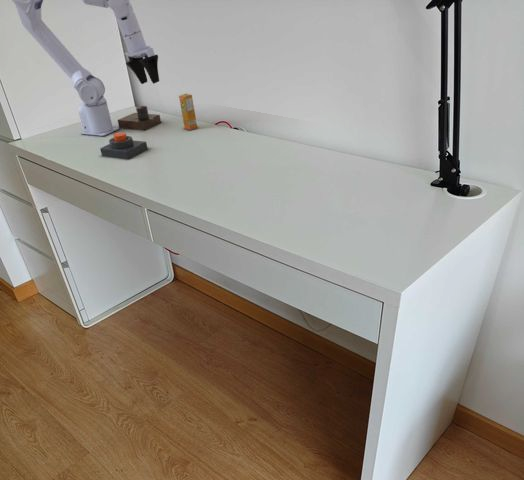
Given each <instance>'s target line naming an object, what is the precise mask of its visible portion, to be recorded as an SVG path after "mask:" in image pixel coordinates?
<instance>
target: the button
mask: <svg viewBox="0 0 524 480" xmlns="http://www.w3.org/2000/svg"><path fill="white" fill-rule="evenodd" d="M126 136H127V133H126V132H116V133H114V134H112V138H114V141H117V142H118V141H124V140H127V137H126Z"/></svg>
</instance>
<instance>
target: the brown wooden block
mask: <svg viewBox="0 0 524 480" xmlns="http://www.w3.org/2000/svg"><path fill="white" fill-rule="evenodd" d="M148 114H149V119H146V120H139V119H138V115H137V112H133V113H130V114H128V115H126V116H123V117H121V118H119V119H117V123H118V128H119V129H128V130H129V129H130V130H139V131H146V130H148V129H150V128H153V127H155V126H156V125H159V124H160V123H162V120H161V115H160V114H158V113H157V114H155V113H148Z"/></svg>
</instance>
